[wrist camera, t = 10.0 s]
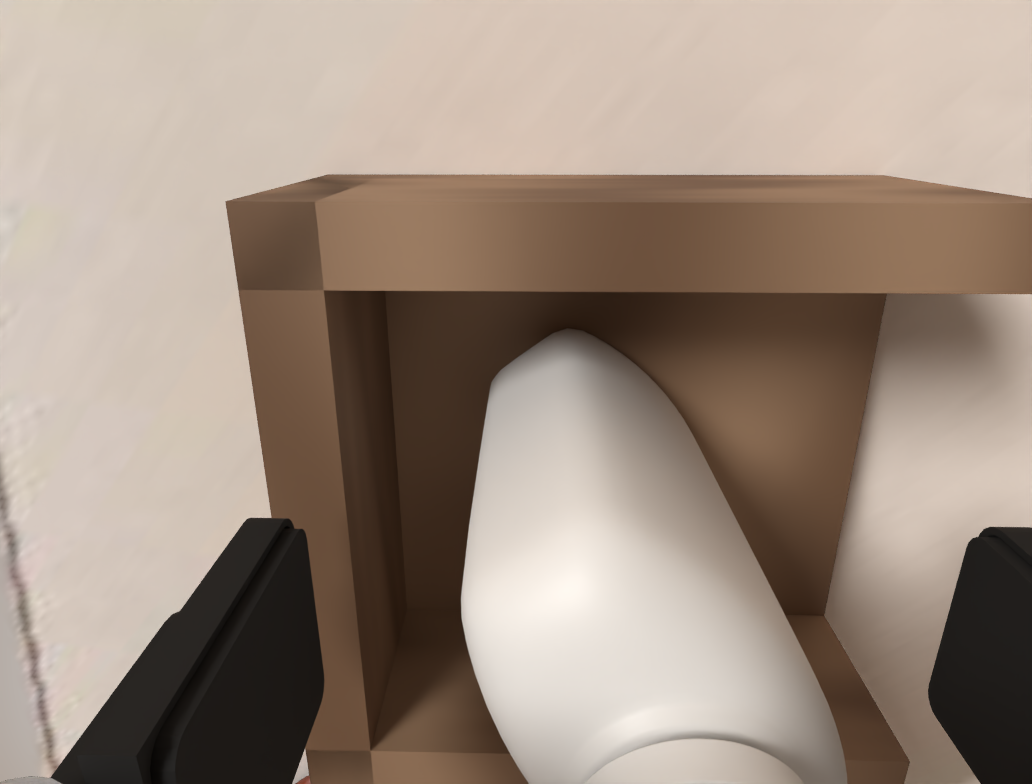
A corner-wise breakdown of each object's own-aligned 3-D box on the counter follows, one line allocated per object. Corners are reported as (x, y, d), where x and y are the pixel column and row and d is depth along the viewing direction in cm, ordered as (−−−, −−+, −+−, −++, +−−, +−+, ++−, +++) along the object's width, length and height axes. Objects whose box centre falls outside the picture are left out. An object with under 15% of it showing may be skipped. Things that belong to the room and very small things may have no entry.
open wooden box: (883, 175, 14) (1063, 203, 9) (801, 628, 18) (896, 809, 13) (327, 174, 14) (226, 200, 9) (369, 621, 18) (312, 796, 13)
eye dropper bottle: (520, 565, 16) (492, 1589, 5) (482, 331, 14) (285, 1158, 3) (712, 545, 16) (1155, 1591, 5) (701, 303, 14) (1441, 1104, 3)
